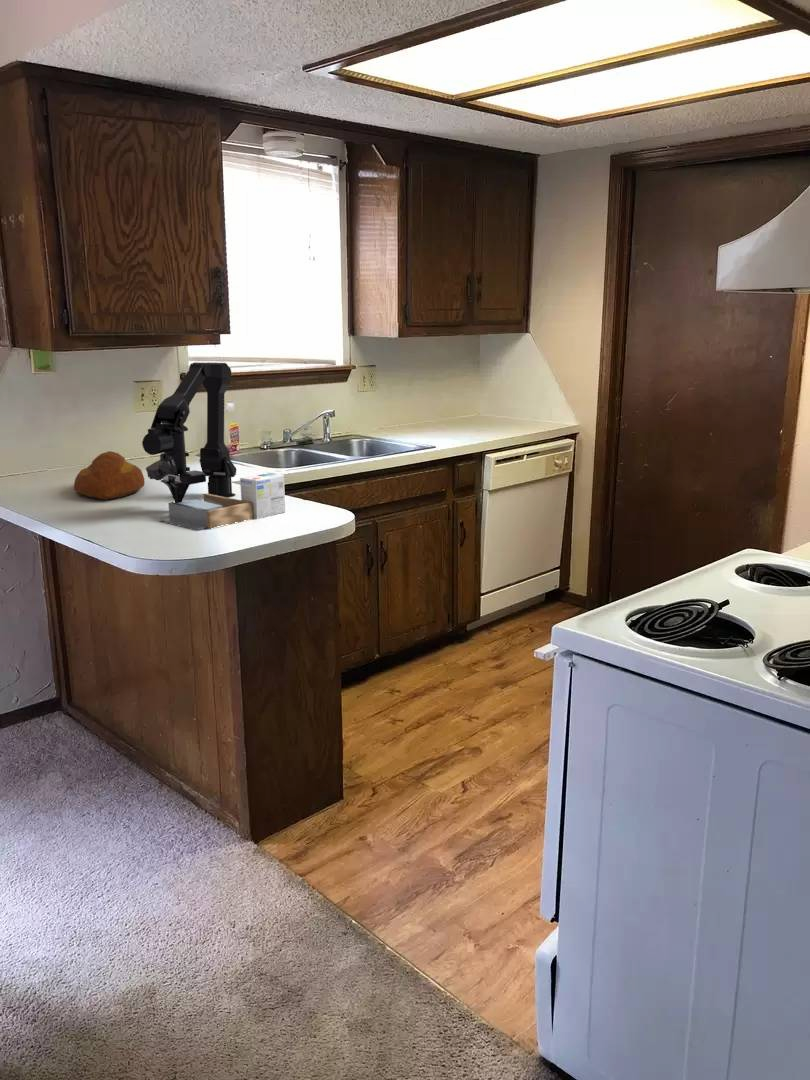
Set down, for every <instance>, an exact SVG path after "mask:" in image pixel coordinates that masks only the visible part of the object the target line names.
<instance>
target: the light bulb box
mask: <svg viewBox="0 0 810 1080" xmlns="http://www.w3.org/2000/svg"><path fill="white" fill-rule="evenodd" d="M239 484H240V500H242V501H247V502H252V503H253V519H255V518H256V520H258V519H261V518H262V519H263V518H266V517H271V516H274V515H279V514H283V513H286V499H285V498H286V495H285V475H284V474H280V473H274V472H264V473H260V474H253V475H249V476H245V477H239ZM257 518H258V519H257Z"/></svg>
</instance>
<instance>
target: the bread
mask: <svg viewBox="0 0 810 1080" xmlns="http://www.w3.org/2000/svg"><path fill="white" fill-rule="evenodd" d="M144 486H145V476H144V474H143V471H142V469H141V468H139V467H138V466H137V465H135V464H132V463H130V462H128V461H127V460H126V458H125V457H124V456H122V455H121V454H120V453H118V452H115V451H110V450H109V451H106V452H103V453H100V454H98V455H97V456H96V457H95V458H94V459H93V460H92V462H91V464H89V465H88V466H87V467H85V468H83V469H81V470H80V471H79V472H78V473H77V476H76V477H75V478H74V483H73V488H74V491H76V493H78V494H81V495H84V496H86V497H89V498H94V499H100V500H101V499H102V500H106V501H107V500H112V499H117V498H121V497H126V496H129V495H132V494H135V493H137V492H139V491H140V490H141V489H142V488H144ZM131 493H132V494H131Z"/></svg>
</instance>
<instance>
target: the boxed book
mask: <svg viewBox="0 0 810 1080" xmlns="http://www.w3.org/2000/svg"><path fill="white" fill-rule="evenodd" d="M178 504H183V505H187V506H192V507H197V508H201V509H206V510H215V509H220V508H222V506H221V505H217V504H213V503H209V502H205V501H204V500H199V499H191V500H186V501H182V502H180V503H178Z"/></svg>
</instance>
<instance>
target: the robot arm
mask: <svg viewBox="0 0 810 1080" xmlns="http://www.w3.org/2000/svg"><path fill="white" fill-rule="evenodd" d="M231 377H232V368H231V367H230V366H229V364H228V363H226V362H196V361H195V362H192V363H190V364H189V367H188V371H187V372H186V374H185V375H184V377H183V378H182V380H181V382H180V383H179V384H178V386H177V388H176V389H175V391H174V392H173V394H171V395H170V396H168V397H166V398H164V399H163V400H162V401H161V402H160V403H159V404H158V407H157V408H156V411H155V415H154V418H153V420H152V423H151V426H150V428H147V434H145V435H144V436H143V439H142V442H141V445H142V448H143V450H144V451H145V452H146V453H147V454H148V455H151V456H154V455H159V454H160V455H159V460H156V461H154V462H153V463H151V464H149V465H148V466H147V467H145V470H146V472H147V478H149V480H155V481H160V482H161V483H163V484H164V485H165V486H167V487H168V489H169V491H170V494H171V496H172V498H173V501H174V503H180V502H184V501H183V500H184V498H185V496H186V493H187V490H188V489H189V487H190V485H194V484H201V483H206V482H207V494H212V495H217V496H222V497H227V498H231V497H234V496H236V493H234V492H233V487H232V486H233V485H232V483H233V482H232V478H234V477H235V476H236V475H237V467H236V466H235V464H234V463H233V461H232V460H231V457H230V451H229V449H228V447H227V445H226V444H225V394H226V392H227V391H228V389H229V387H230V385H231ZM201 386H203V388H204V390H205V392H206V396H207V397H206V401H207V402H206V443H205V444H204V446H203V447H201V448H200V449H199V456H200V457H199V464H200V469H201V471H200V470H191V467H189V466H187V458H186V457H190V453H189V452H187V451H186V441H185V440H186V439H185V432H188V431H189V428H188V427H187V426H185V423H186V421H187V419H188V416H189V415H190V412H191V410H190V404H191V402H192V400H193V399H194V397H196V394H197V392H198V391H199V390H200V388H201ZM207 479H208V480H207Z"/></svg>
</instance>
